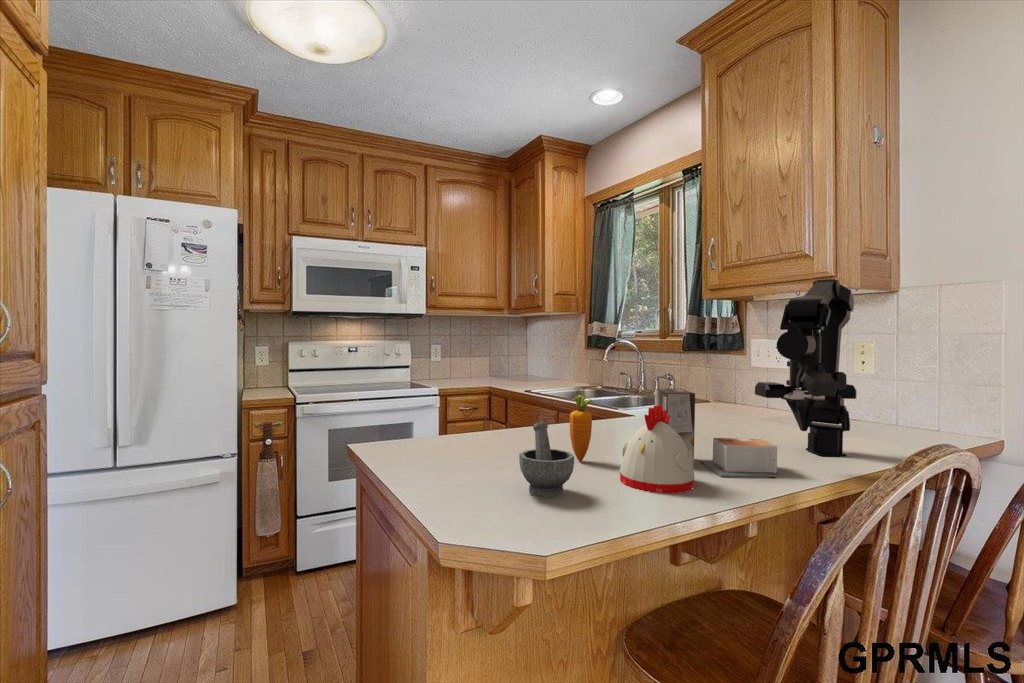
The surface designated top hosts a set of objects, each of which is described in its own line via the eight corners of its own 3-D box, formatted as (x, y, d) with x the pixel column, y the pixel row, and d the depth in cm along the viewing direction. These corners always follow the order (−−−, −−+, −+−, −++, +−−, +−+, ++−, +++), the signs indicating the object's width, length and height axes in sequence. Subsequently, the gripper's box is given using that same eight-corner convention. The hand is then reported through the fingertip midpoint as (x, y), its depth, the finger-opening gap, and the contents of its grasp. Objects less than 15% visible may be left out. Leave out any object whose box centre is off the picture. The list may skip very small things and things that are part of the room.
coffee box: (695, 467, 113) (696, 393, 112) (666, 467, 112) (667, 392, 112) (679, 456, 122) (680, 388, 122) (652, 456, 122) (653, 388, 121)
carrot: (579, 457, 120) (580, 392, 120) (596, 462, 116) (597, 394, 116) (564, 460, 117) (565, 394, 116) (580, 465, 113) (581, 396, 113)
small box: (778, 446, 107) (727, 445, 107) (777, 473, 107) (726, 472, 107) (760, 438, 115) (712, 437, 115) (759, 463, 115) (711, 462, 115)
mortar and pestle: (579, 500, 90) (580, 431, 89) (526, 503, 88) (527, 432, 88) (561, 481, 101) (562, 419, 101) (514, 483, 99) (514, 420, 99)
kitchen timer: (606, 481, 101) (607, 404, 101) (643, 469, 111) (644, 398, 111) (672, 498, 91) (674, 413, 91) (706, 483, 101) (708, 406, 101)
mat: (749, 462, 117) (749, 460, 117) (775, 477, 105) (775, 475, 105) (699, 462, 117) (699, 460, 117) (720, 477, 105) (720, 475, 105)
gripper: (779, 359, 103) (778, 438, 103) (875, 360, 102) (873, 439, 103) (754, 356, 114) (752, 427, 114) (840, 357, 113) (839, 428, 114)
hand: (803, 430), depth 111 cm, fingers closed
